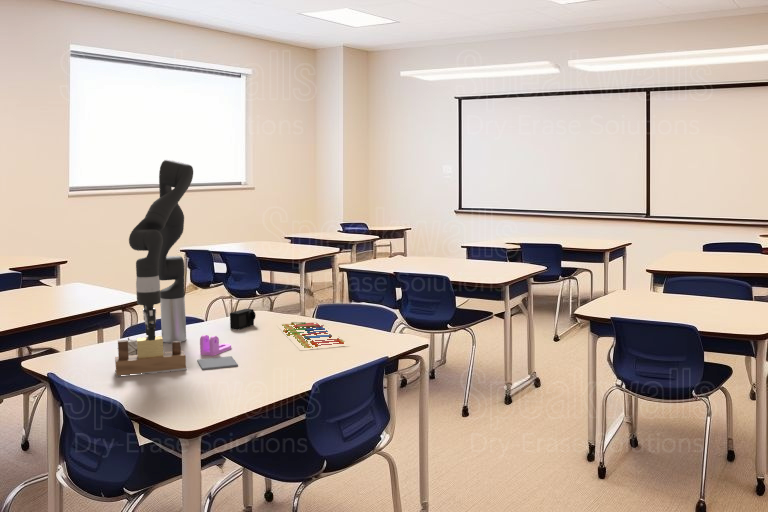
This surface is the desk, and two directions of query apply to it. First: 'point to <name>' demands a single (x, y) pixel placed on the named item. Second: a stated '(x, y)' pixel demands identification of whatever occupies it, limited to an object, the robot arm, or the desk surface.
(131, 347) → the game die
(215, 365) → the mat
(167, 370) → the plane body
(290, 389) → the desk surface
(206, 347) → the bracket
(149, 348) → the lever cap
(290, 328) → the gear board
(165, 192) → the robot arm
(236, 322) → the digital camera
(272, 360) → the desk surface
